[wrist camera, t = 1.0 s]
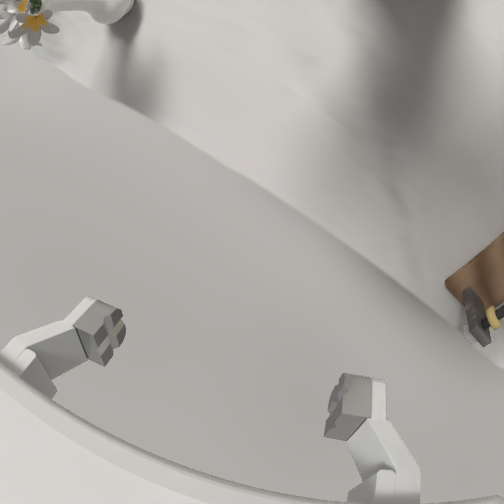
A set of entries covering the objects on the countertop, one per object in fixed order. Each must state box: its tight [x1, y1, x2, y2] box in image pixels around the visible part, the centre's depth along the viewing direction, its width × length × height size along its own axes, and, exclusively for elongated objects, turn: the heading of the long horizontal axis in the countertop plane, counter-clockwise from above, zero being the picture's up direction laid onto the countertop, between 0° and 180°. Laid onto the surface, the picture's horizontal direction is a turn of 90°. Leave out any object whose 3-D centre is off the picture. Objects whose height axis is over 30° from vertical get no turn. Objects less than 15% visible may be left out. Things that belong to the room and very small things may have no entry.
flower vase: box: [0, 0, 134, 49], centre depth 30 cm, size 13×18×25 cm
